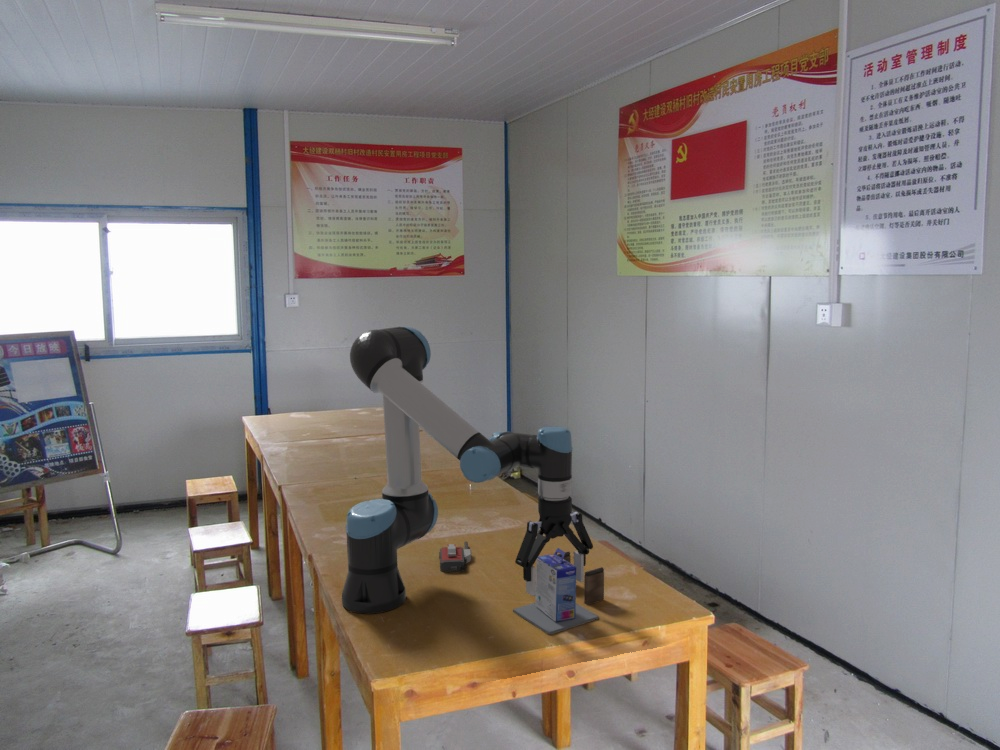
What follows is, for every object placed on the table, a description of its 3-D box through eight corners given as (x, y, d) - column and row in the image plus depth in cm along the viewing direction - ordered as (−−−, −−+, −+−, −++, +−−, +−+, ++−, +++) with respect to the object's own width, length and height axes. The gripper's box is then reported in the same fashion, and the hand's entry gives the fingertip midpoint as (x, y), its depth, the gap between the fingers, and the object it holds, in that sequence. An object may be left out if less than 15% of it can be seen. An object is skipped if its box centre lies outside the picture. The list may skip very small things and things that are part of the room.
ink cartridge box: (577, 618, 172) (577, 556, 170) (556, 623, 170) (556, 560, 168) (555, 602, 181) (555, 542, 179) (534, 606, 178) (534, 546, 176)
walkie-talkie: (473, 573, 201) (469, 546, 221) (472, 557, 201) (469, 532, 220) (439, 575, 200) (439, 548, 220) (439, 558, 200) (438, 533, 220)
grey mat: (549, 634, 166) (549, 632, 165) (512, 611, 177) (512, 609, 177) (598, 618, 173) (598, 616, 173) (560, 597, 185) (560, 594, 185)
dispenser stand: (587, 604, 180) (587, 572, 179) (551, 585, 192) (551, 554, 191) (603, 599, 183) (604, 568, 182) (567, 580, 195) (567, 550, 194)
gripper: (518, 510, 162) (519, 606, 164) (608, 490, 175) (607, 579, 178) (499, 501, 168) (500, 594, 171) (587, 483, 181) (587, 569, 184)
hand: (555, 587), depth 174 cm, fingers open, 13 cm apart
